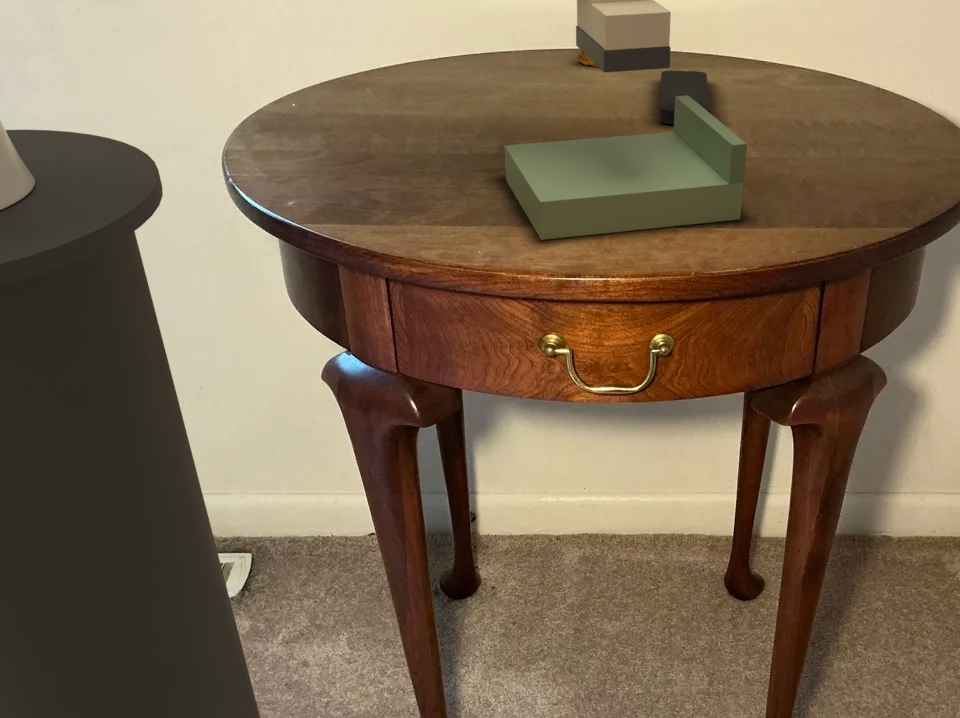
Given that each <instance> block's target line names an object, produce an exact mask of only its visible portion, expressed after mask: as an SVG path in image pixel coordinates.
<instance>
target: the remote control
mask: <svg viewBox="0 0 960 718" xmlns="http://www.w3.org/2000/svg"><path fill="white" fill-rule="evenodd" d="M707 76H708V75H707V73H706V72H704V71H699V70H698V71H695V70H694V71H693V70H663V71H661V73H660V83H659V85H660V86H659V115H658V121H659V122H660V123H662V124H669V125H674V113H675V97H676V96H690V97H691V98H692V99H693V100H694V101H696V102H697V103H698V104H699V105H700V106H702V107H703V108H704V109H705V110H707V111H708V112H709V113H710V114H711V106H710V97H709V87H708V86H709V85H708V77H707Z"/></svg>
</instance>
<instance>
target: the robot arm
mask: <svg viewBox="0 0 960 718" xmlns="http://www.w3.org/2000/svg"><path fill="white" fill-rule="evenodd" d="M5 130H6V129H5V126H4V125H3V123H2V120H0V210H2V209H4V208H6V207H8V206H10V205H12V204H14V203H16V202H18V201H19V200H21V199H22V198H24V197H25V196H26V195H28V194H29V193H30V192H31V191H32V189H33V188H34V186H35V178H34V177H33V175H32V174H31V172H30V171H29V170H28V168H27V167H26V165H25V164H24V162H23V160H22V159H21V157H20V156H19V154H18V152H17V151H16V149H15V147H14V145H13V144H12V142H11V140H10V138H9V136H8V135H7V133H6V131H5Z"/></svg>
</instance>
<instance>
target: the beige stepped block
mask: <svg viewBox="0 0 960 718" xmlns="http://www.w3.org/2000/svg"><path fill="white" fill-rule="evenodd" d="M671 15H672V13H671V11H670V10H668V9H667V8H666V7H665V6H663V5H662V4H660V3H659V2H657V1H656V0H576V26H575V46H576V47H577V48H578V49H579V50H580V51H581V50H582V51H583V52H584V53H585V54H586V55H587V56H588V57H589V58H590V59H591V60H592V61H593V62H594V63H595V64H596V65H597V66H598V67H597V68H599V69H600V70H601V71H602V72H603V73H616V72H630V71H631V72H633V71H645V70H658V69H659V70H662V69H670V68H671V50H672V49H671V46H670V39H671Z"/></svg>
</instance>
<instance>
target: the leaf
mask: <svg viewBox="0 0 960 718" xmlns="http://www.w3.org/2000/svg"><path fill="white" fill-rule="evenodd" d="M580 52H581V53H580ZM580 52H578V51H577V53H578V54H577V55H576V56H577V59H578V62H579V63H581V64H584V66H589V65H590V66H592V67H597V68H599V67H598V66H597V65H596V64H595V63H594V62H593V61H592V60H591V59H590V58H589V57H588V56H587V55H586V54H585V53H584V52H583V51H582V50H580Z"/></svg>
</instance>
